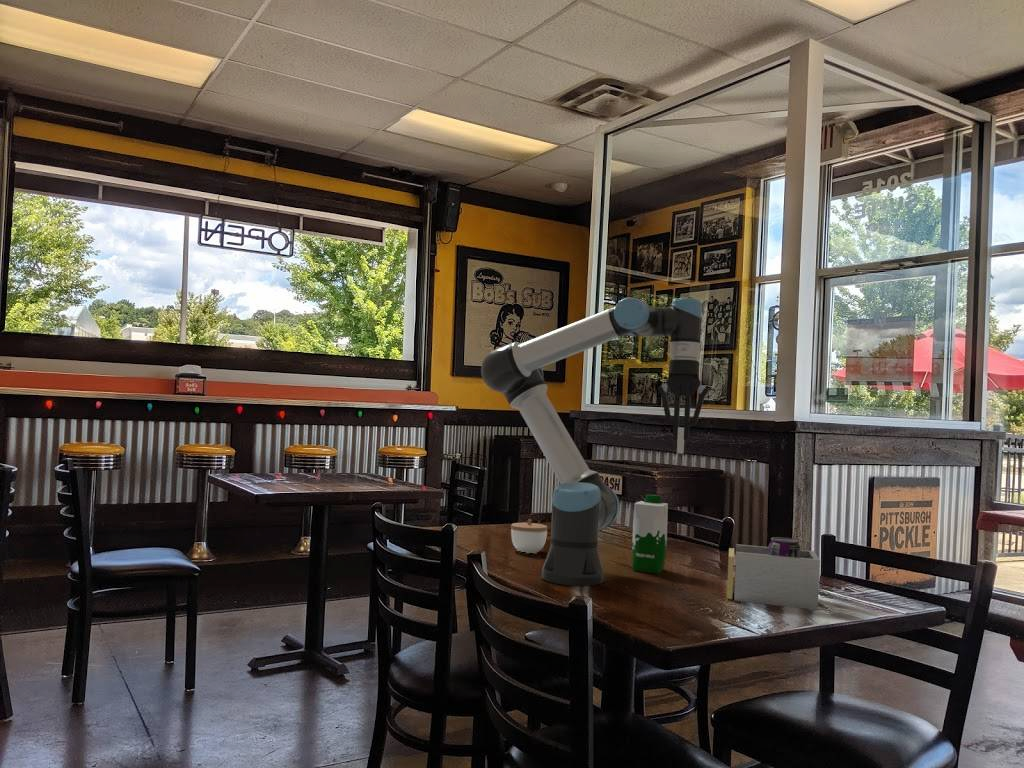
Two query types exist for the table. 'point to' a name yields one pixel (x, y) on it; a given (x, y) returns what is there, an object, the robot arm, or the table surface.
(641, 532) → the milk carton
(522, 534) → the lidded jar
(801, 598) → the grey open box
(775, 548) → the beverage can
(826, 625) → the table surface
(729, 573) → the rack
